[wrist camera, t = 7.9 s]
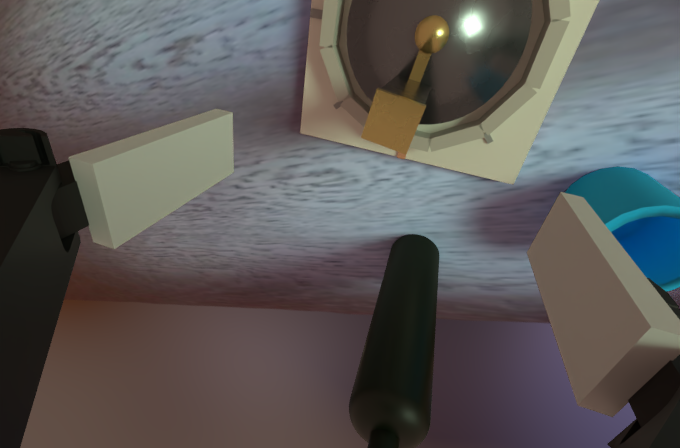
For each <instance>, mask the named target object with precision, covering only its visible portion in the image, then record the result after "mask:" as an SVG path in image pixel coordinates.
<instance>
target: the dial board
mask: <svg viewBox="0 0 680 448" xmlns="http://www.w3.org/2000/svg"><path fill="white" fill-rule="evenodd" d="M351 2H352V0H312V3H311V14H310V26H309V37H308V49H307V60H306V72H305V83H304V95H303V106H302V118H301V129H300V133H302V134H306V135H310V136H314V137H318V138H322V139H326V140H331V141H335V142H339V143H343V144H347V145H351V146H355V147H360V148H364V149H368V150H372V151H376V152H380V153H384V154H388V155H393V156H397V158H401V159H409V160H413V161H417V162H422V163H426V164H430V165H434V166H438V167H442V168H446V169H451V170H455V171H459V172H463V173H467V174H471V175H475V176H480V177H484V178H488V179H492V180H496V181H500V182H504V183H508V184H514V182H515V180H516V178H517V176H518V174H519V171H520V169H521V167H522V165H523V163H524V161H525V159H526V156H527V154H528V152H529V150H530V148H531V146H532V144H533V141H534V139H535V137H536V135H537V133H538V131H539V128H540V126H541V124H542V122H543V120H544V118H545V116H546V113H547V111H548V109H549V107H550V105H551V103H552V101H553V98H554V96H555V94H556V92H557V90H558V88H559V86H560V83H561V81H562V79H563V77H564V75H565V73H566V71H567V68H568V66H569V64H570V62H571V60H572V58H573V56H574V53H575V51H576V49H577V47H578V45H579V43H580V41H581V38H582V36H583V34H584V32H585V30H586V28H587V26H588V23H589V21H590V19H591V17H592V15H593V13H594V11H595V8H596V6H597V4H598V2H599V0H532V17H531V26H530V31H529V36H528V40H527V43H526V46H525V49H524V52H523V54H522V56H521V58H520V60H519V63H518V65H517V66H516V68H515V70H514V71H513V73H512V75H511V76H510V78H509V79H508V80H507V81H506V83H505V84H504V85H503V87H502V88H501V89H500V90H499V91H498V92H497V93H496V94H495V95H494V96H493V97H492V98H491V99H490V100H488V101H487V102H486V103H485V104H484V105H482V106H481V107H479V108H478V109H476V110H475V111H473V112H471V113H469V114H467V115H465V116H463V117H461V118H458V119H456V120H453V121H449V122H445V123H441V124H431V125H424V124H419V125H418V127H417V130H416V132H415V135H414V137H413V139H412V142H411V144H410V147H409V149H408V151H407V154H406V155H405V154H403V153H400V152H397V151H395V150H392V149H389V148H387V147H384V146H381V145H379V144H376V143H373V142H371V141H368V140H366V139H363V138H361V136H362V133H363V130H364V126H365V123H366V120H367V117H368V114H369V111H370V108H371V105H372V101H371V100H370V99H369V98H368V97H367V96H366V94H365V93H364V92H363V90H362V89H361V87H360V86H359V84H358V82H357V80H356V78H355V76H354V73H353V70H352V68H351V64H350V60H349V56H348V49H347V21H348V15H349V10H350V6H351Z"/></svg>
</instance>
